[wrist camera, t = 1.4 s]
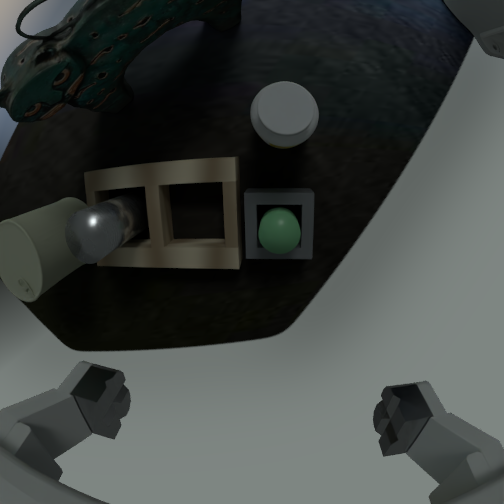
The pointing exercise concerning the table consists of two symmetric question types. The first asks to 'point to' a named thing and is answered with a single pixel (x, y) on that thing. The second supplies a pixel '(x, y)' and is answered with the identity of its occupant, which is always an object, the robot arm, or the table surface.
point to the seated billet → (105, 226)
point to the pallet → (159, 213)
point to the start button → (279, 230)
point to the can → (37, 249)
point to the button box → (279, 197)
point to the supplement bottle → (284, 114)
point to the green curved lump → (94, 53)
